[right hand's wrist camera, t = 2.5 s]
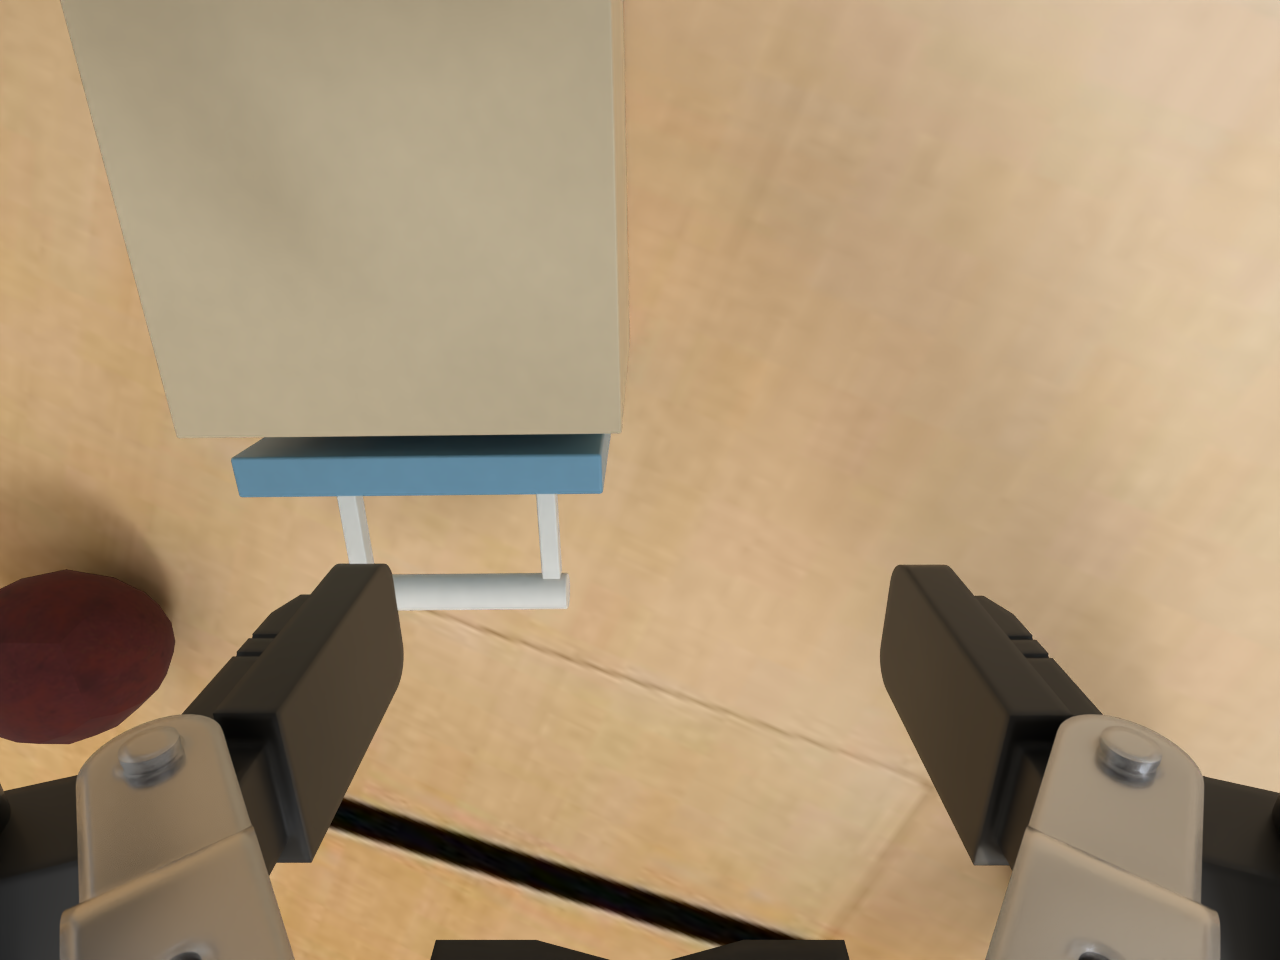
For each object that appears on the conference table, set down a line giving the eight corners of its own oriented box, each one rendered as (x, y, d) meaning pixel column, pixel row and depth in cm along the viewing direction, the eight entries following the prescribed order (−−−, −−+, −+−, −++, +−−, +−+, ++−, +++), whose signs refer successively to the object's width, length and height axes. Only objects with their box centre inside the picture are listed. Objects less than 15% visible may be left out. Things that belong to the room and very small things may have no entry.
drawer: (618, 518, 31) (608, 651, 22) (382, 521, 31) (276, 653, 22) (605, 14, 24) (582, -96, 15) (301, 18, 24) (96, -88, 15)
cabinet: (629, 345, 29) (621, 434, 18) (350, 348, 29) (176, 438, 18) (621, -101, 23) (602, -354, 13) (277, -94, 24) (-33, -340, 13)
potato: (11, 550, 32) (-150, 640, 26) (175, 533, 32) (55, 619, 25) (76, 683, 35) (-55, 794, 28) (228, 668, 35) (131, 778, 28)
